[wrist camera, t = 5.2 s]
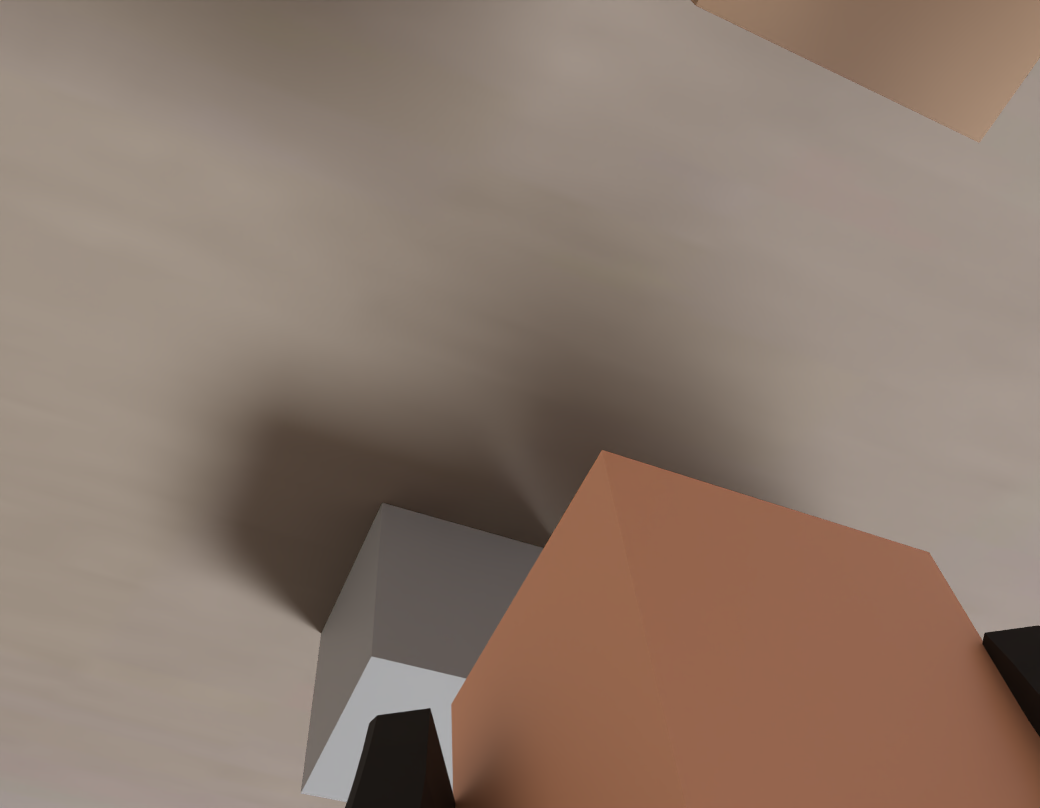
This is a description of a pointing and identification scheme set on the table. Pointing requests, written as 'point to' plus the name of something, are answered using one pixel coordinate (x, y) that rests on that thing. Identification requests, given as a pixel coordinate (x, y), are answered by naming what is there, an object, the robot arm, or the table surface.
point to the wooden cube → (908, 48)
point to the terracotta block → (733, 666)
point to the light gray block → (405, 634)
